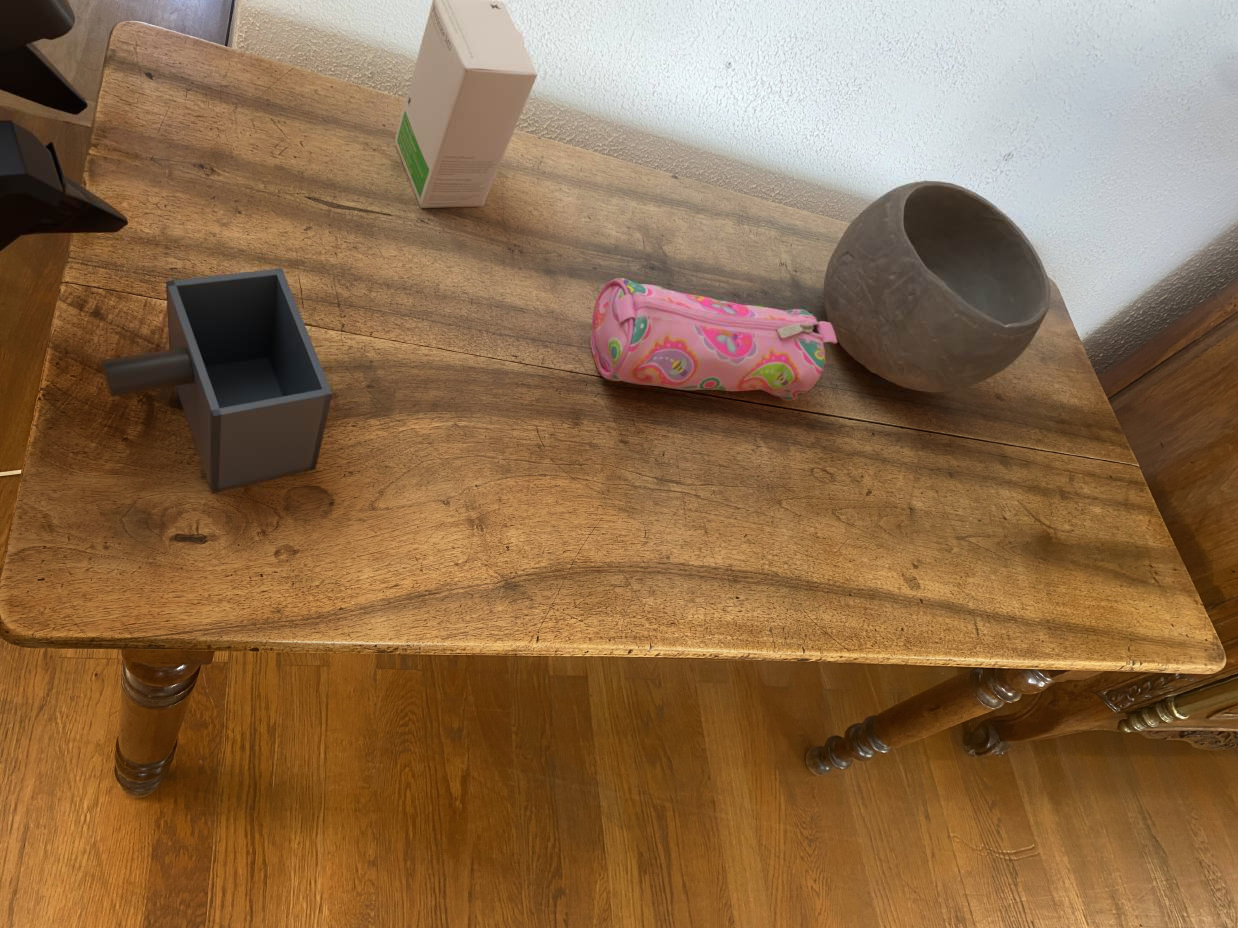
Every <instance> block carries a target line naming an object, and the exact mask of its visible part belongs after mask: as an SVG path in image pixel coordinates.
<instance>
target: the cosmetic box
mask: <svg viewBox="0 0 1238 928" xmlns="http://www.w3.org/2000/svg"><path fill="white" fill-rule="evenodd" d="M513 21H514V20H513V19H512V17H511V15H510V13H509V10H508V8H507V6H506V3H505V2H504V1H499V0H432V2H431V6H430V8H429V13H428V17H427V20H426V25H425V27H424V32H423V36H422V39H421V43H420V46H419V50H418V54H417V58H416V62H415V65H414V68H413V72H412V76H411V80H410V84H409V87H408V90H407V93H406V98H405V100H404V105H403V109H402V113H401V116H400V120H399V122H398V127H397V130H396V134H395V139H394V144H395V147H396V149H397V152H398V154H399V156H400V160H401V163H402V165H403V167H404V170H405V172H406V175H407V177H408V179H409V182H410V184H411V187H412V190H413V192H414V195H415V197H416V200H417V202H418V205H419V207H420V208H421V209H433V208H434V209H435V208H437V209H438V208H465V207H469V208H471V207H472V208H473V207H483V206H484V205H485V202H486V200H487V198H488V194H489V192H490V191H491V188H492V185H493V183H494V180H495V178H496V175H497V173H498V170H499V168H500V166H501V163H502V161H503V159H504V157H505V154H506V151H507V149H508V146H509V145H510V141H511V139H512V138H513V134H514V132H515V130H516V128H517V125H518V122H519V121H520V118H521V116H522V113H523V110H524V109H525V106H526V104H527V101H528V98H529V96H530V94H531V92H532V89H533V86H534V84H535V82H536V79H537V77H538V73H537V71H536V68H535V67H534V63H533V62H532V60H531V57H530V56H529V53H528V51H527V49H526V47H525V39H524V37H523V35H522V33H521V31H520V30H519V29H518V28H516V25H515V24H514V22H513Z"/></svg>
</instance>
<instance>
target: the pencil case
mask: <svg viewBox="0 0 1238 928" xmlns="http://www.w3.org/2000/svg"><path fill="white" fill-rule="evenodd" d="M825 343H830V344H833V345H835V344H837V343H838V340H837V339H836V335H835V332H834V329H833V327H832V325H831V323H830V322H828V321H818V319H817V318H816V317H815V316H814V314H813V311H811V310H808V311H807V310H806V309H803V308H802V309H801V308H792V309H787V310H781V309H777V308H772V307H766V306H761V305H752V304H740V303H736V302H731V301H725V300H719V299H715V298H712V297H708V296H703V295H696V294H691V293H685V292H684V293H683V292H679V291H676V290H670V289H667V288H665V287H663V286H661V285H655V284H648V283H638V282H635V281H632V280H630V279H627V278H625V277H624V278H623V277H617V278H614V279H611V280H609V281H608V282H607V283H606V284H604V286H603V288H602V289H601V291H600V292H599V294H598V296H597V298H596V300H595V303H594V307H593V313H592V319H591V335H590V348H591V352H592V356H593V359H594V361H595V365H596V368H597V370H598V372H599V374H600V375H601V376H602V377H603V378H604V379H606V380H609V381H613V382H621V381H622V382H624V383H628V384H635V385H642V386H652V387H653V386H654V387H661V388H666V389H674V390H681V391H698V390H703V391H704V390H707V391H708V390H709V391H710V390H711V391H712V390H713V391H714V390H715V391H717V390H718V391H725V392H744V391H759V390H761V391H764V392H765V393H767V394H769V395H771V396H775V397H780V398H781V399H782V400H784V401H787V402H792V401H796V400H797V399H800V397H802V396H803V395H805V394H806V393H807V392H808V391H810V390H811V389H812V388H813V387H814V386H815V385H817V383H818V381H819V380H820V378H821V375H822V374H823V371H824V369H825V368H824V367H825V364H826V349H825Z"/></svg>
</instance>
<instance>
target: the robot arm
mask: <svg viewBox="0 0 1238 928" xmlns="http://www.w3.org/2000/svg"><path fill="white" fill-rule="evenodd" d="M75 24H76V16H75V12H74V10H73V8H72V6H71V4H70V2H69V0H0V91H3V92H5V93H8V94H11V95H13V96H16V97H19V98H22V99H24V100H27V101H30V102H33V103H35V104H38V105H40V106H44V107H47V108H49V109H52V110H56V111H60V112H63V113H67V114H70V115H73V116H77V115H79V114H81V113H82V112H83V111H85V110H87V108H88V101H87V100H86V98H85V97H84V96H83V94H81V93H80V92H79V91H78V90H77V88H76V87H75V86H74V85H73V84H72V83H71V81H69V80H68V79H67V78H66V77H65V75H64V74H63V73H62V72H61V71H60V70H59V69H58V68H57V67H56V66H55V65H54V64H53V63H52V62H51V60H49V58H48V57H47V56H46V55H45V54H44V53H43V52H42V50H41V49H39V47H38V46H37V45H36V44H35V42H38V41H41V40H49V41H53V40H56V39H59V38H61V37H64V36H65V35H67V34H68V33H69V32H71V31H72V29H73V28H74V26H75ZM128 224H129V221H128V217H126V215H124V214H123V213H122V212H120V211H119V210H117V209H116V208H115V207H114V206H113V205H111V204H110V203H108V202H107V201H105V200H104V199H102V198H101V197H99V196H98V195H96V194H94V193H93V192H91V191H90V190H89V189H87V188H85V187H84V186H82V185H81V184H80V183H78V182H76V181H75V180H73V179H72V178H70V177H69V176H67V175H65V172H64V169H63V166H62V163H61V160H60V157H59V154H58V150H57V147H56V145H55V143H54V142H53V141H50V142H49V143H47V144H46V145H45V144H44V143H43V142H42V141H41V140H40V139H39V138H38V137H37V136H36V135H35V133H33V132H32V131H31V130H29V129H27V128H26V127H24V126H22V125H21V124H18V123H17V122H16V121H13V120H10V119H9V120H8V119H6V120H5V119H3V120H2V119H1V120H0V252H2V251H3V250H4V249H6V248H7V247H8V246H10V245H11V244H13V243H14V241H16V240H18V239H19V238H20V237H22V236H23V237H24V236H30V235H44V234H114V233H118V232H120V231H121V230H122V229H124V228H125V227H126V226H128Z"/></svg>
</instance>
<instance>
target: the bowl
mask: <svg viewBox="0 0 1238 928" xmlns="http://www.w3.org/2000/svg"><path fill="white" fill-rule="evenodd" d="M822 289H823V291H822V296H823V303H824V304H823V306H824V311H825V315H826V319H827V322H830V323H831V325H832V327H833V329H834V332H835V335H836V339H837V343H839V345H840V346H841V347H842V348H843V349H844V350H845V351H846V353H847V354H849V355H850V357H852V358H853V359H854V360H855V361H856V362H858V363H859V364H861V365H862V366H863V367H865V369H867V370H868V371H870V373H872V374H876V375H877V376H879V377H881V378H882V379H884V380H887V381H888V382H892V383H893V384H895V385H897V386H899V387H901V388H904V389H908V390H914V391H918V392H919V391H920V392H926V393H943V392H949V391H953V390H958V389H962V388H963V389H964V388H966V387H970V386H973V385H976V384H979V383H982V382H983V381H986V380H989V379H990V378H992V377H994V376H995V375H998V374H999V373H1001V372H1003V371H1004V370H1005V369H1007V368H1008V367H1009V366H1010V365H1012V364H1013V363H1014V362H1015V361H1016V360H1018V358H1019V357H1020V356H1021V355H1022V354H1024V352H1025V351H1026V349H1027V348H1028V347H1029V346H1030V344H1031V342H1032V341H1033V340H1034V338H1035V336H1036V335H1037V332H1038V331H1039V329H1040V327H1041V325H1042V323H1043V321H1044V320H1045V318H1046V316H1047V314H1048V312H1049V308H1050V303H1051V293H1052V292H1051V285H1050V279H1049V277H1048V274H1047V272H1046V269H1045V266H1044V264H1043V262H1042V259H1041V258H1040V256H1039V254H1038V252H1037V251H1036V249H1035V248H1034V245H1033V244H1032V242H1031V241H1030V240H1029V238H1028V237H1027V236H1026V234H1025V233H1024V231H1023V230H1022V229H1021V228H1020V226H1018V225H1017V224H1016V223H1015V222H1014V220H1012V219H1011V217H1009V216H1008V215H1007V214H1006V213H1004V212H1003V211H1002V210H1001V209H1000V208H998V207H997V206H996V205H995V204H994V203H992V202H991V201H989V200H988V199H987V198H985V197H983V195H980V194H978V193H976V192H974V191H973V190H970V189H968V188H966V187H964V186H962V185H958V184H956V183H953V182H946V181H940V180H920V181H914V182H908V183H906V184H903V185H899V186H897V187H895V188H893V189H891V190H890V191H888V192H886V193H883V195H881V196H879V198H877V199H876V200H874V201H873V202H871V203H870V204H869V205H868V206H867V207H866V208H864V209H863V211H861V212H860V213H859V214H858V215H857V216H856V217H855V218H854V219H853V220H852V221H851V222H850V224H849V225H848V226H847V228H846V229H845V231H844V233H842V236H841V237H840V240H839V241H838V243H837V245H836V247H835V248H834V250H833V252H832V254H831V256H830V258H829V260H828V263H827V267H826V271H825V274H824V278H823V288H822Z"/></svg>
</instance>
